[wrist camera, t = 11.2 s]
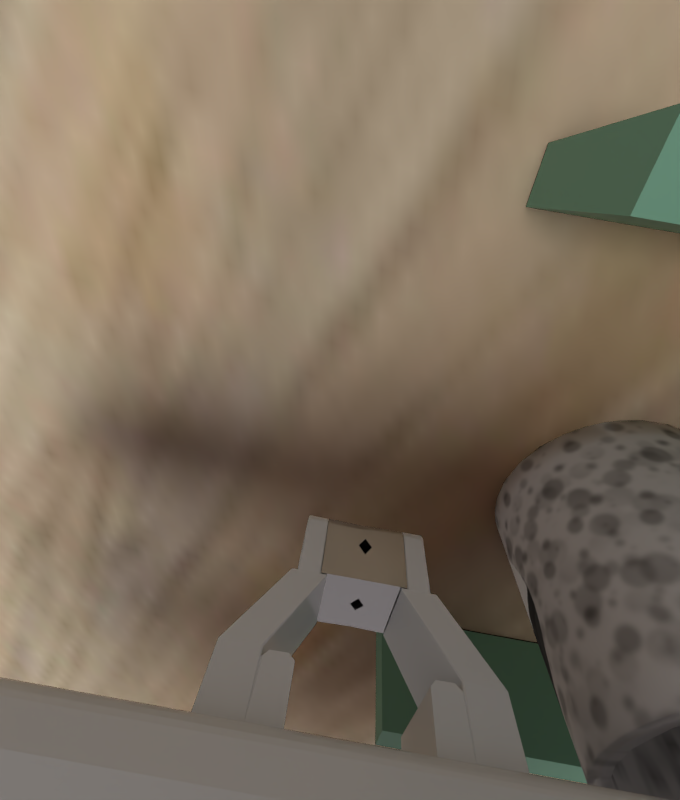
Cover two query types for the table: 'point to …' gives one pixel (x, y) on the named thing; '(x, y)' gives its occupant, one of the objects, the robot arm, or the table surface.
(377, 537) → the robot arm
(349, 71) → the table surface
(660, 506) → the mug
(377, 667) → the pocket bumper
